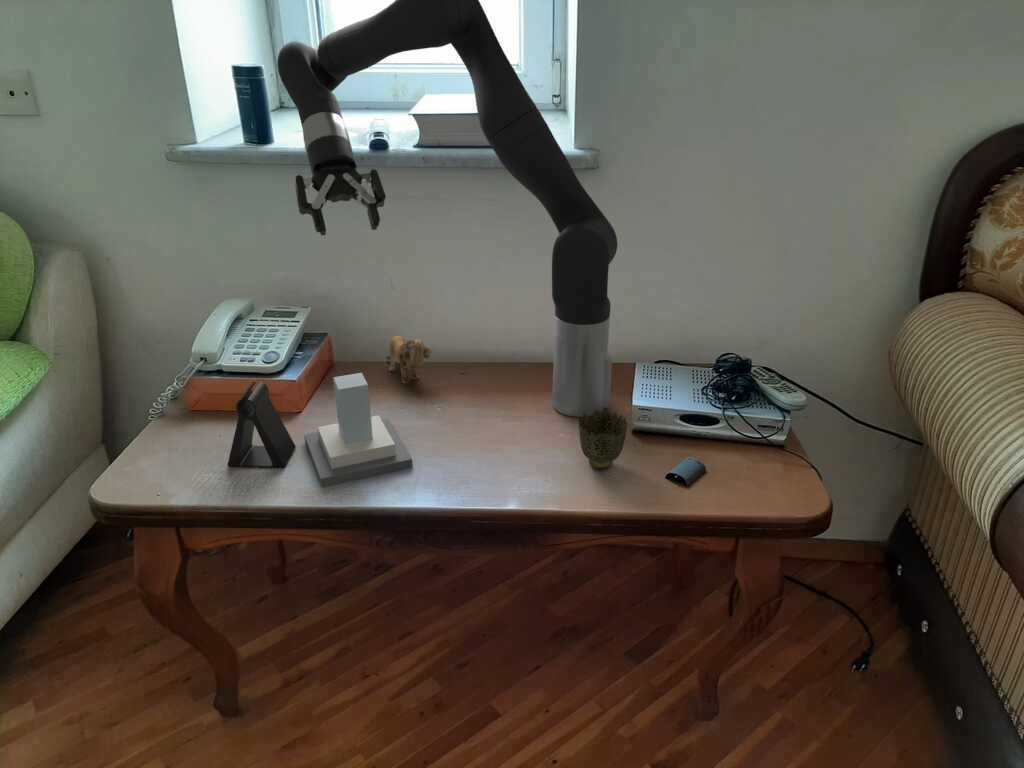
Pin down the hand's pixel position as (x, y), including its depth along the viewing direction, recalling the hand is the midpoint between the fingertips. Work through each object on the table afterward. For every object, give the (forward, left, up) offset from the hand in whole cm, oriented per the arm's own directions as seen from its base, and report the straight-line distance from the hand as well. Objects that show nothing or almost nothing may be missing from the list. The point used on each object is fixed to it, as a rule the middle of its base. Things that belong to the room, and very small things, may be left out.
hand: (349, 230), depth 129 cm
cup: (-28, +38, -31) cm, 56 cm away
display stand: (+6, +20, -31) cm, 37 cm away
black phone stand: (+20, +15, -31) cm, 40 cm away
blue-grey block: (+6, +20, -27) cm, 34 cm away
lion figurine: (-10, -5, -31) cm, 33 cm away
